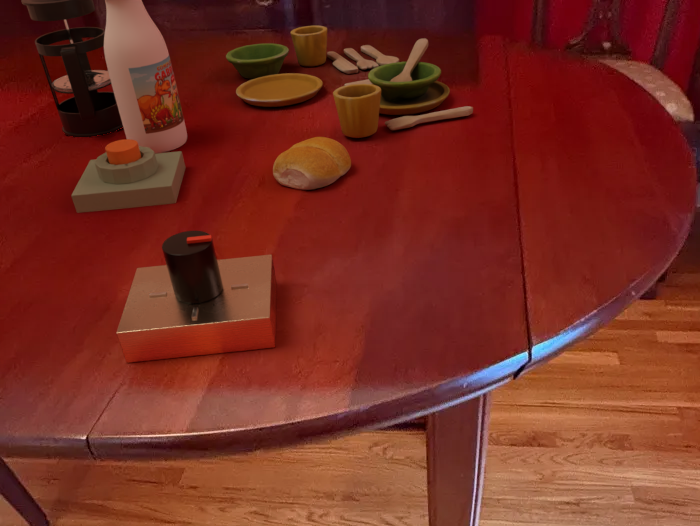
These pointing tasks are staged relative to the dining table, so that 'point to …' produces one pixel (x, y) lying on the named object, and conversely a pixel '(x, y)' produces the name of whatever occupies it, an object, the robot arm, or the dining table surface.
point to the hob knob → (192, 266)
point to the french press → (76, 69)
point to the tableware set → (353, 98)
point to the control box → (130, 182)
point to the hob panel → (200, 313)
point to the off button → (123, 152)
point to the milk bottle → (142, 77)
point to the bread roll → (312, 164)
